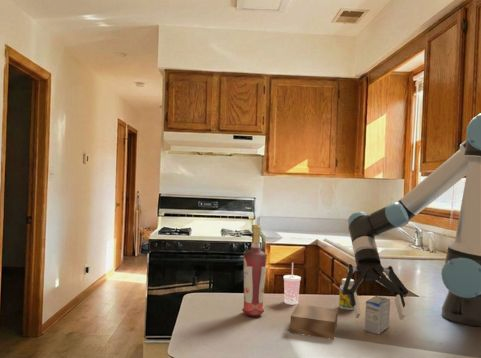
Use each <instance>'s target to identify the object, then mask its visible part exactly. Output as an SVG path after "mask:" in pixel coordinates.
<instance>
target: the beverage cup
mask: <svg viewBox="0 0 481 358" xmlns="http://www.w3.org/2000/svg"><path fill="white" fill-rule="evenodd" d="M301 281H302V276H299V275H295V274H294V262H291V274H285V275H283V288H284V289H283V290H284V291H283V292H284V293H283V294H284V296H283V297H284V303H285V304H287V305H294V306H295V305H298V304H299V294H300V285H301V284H300V283H301Z"/></svg>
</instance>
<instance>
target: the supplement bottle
mask: <svg viewBox="0 0 481 358" xmlns="http://www.w3.org/2000/svg"><path fill="white" fill-rule="evenodd" d="M346 278H347V277H345V278H342V279H341V285H340V286H339V300H338V301H339V303H338V305H339V306H338V307H339V308H340V309H342V310H345V311H346V310H347V311H351V310H352V311H354V306H351V305H350V300H349V298H348V295H346V294H345V295H343V294H342V290H343V287H344V284H345V281H346ZM354 283H355V280H354V278H353V279H352V278H351V280H350V283H349V286H348V289H351V288H352V286H353V285H354ZM354 293H357V290H356V291H355V292H354Z"/></svg>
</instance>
